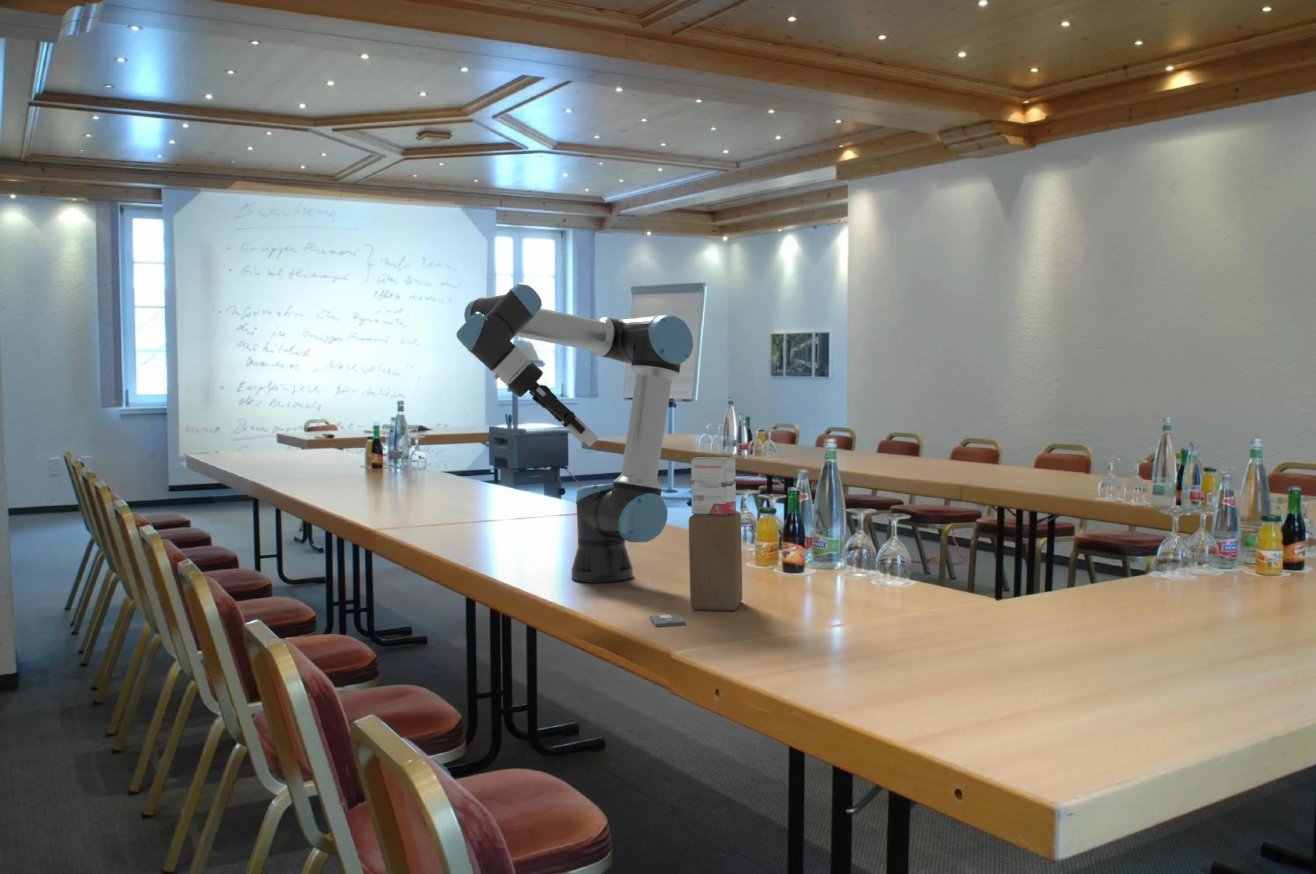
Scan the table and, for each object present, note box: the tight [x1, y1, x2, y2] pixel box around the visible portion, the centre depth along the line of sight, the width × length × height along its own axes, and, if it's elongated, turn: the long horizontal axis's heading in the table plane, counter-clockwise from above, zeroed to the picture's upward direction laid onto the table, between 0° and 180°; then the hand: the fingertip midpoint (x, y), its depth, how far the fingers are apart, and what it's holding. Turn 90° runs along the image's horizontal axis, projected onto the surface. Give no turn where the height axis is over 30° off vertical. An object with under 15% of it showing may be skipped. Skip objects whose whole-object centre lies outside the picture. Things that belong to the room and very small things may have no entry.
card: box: [648, 613, 687, 628], centre depth 213 cm, size 7×6×1 cm
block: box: [688, 510, 743, 612], centre depth 226 cm, size 10×10×20 cm
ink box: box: [690, 456, 737, 515], centre depth 225 cm, size 9×5×12 cm, turn 58°
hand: (590, 440), depth 231 cm, fingers open, 13 cm apart
